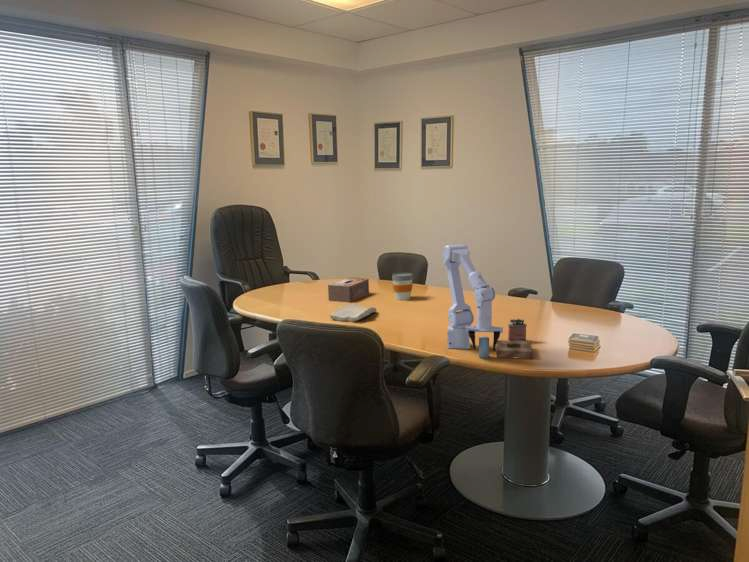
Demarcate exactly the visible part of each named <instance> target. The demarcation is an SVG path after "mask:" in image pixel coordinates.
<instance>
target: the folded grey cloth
mask: <svg viewBox="0 0 749 562" xmlns="http://www.w3.org/2000/svg"><path fill="white" fill-rule="evenodd" d="M373 313H377V308H376V307H375V306H370V307H366V306H363V305H359V304H358V303H353V304H345V305H342V306H340V307H337V308H336V309H335V310H334V311H333V312H332V313H331V314H330V315H329V318H330V319H332V320H334V321H337V322H351V323H355V322H358V321H359V320H360V321H361V319H363V318H365V317H367V316H369V315H371V314H373Z"/></svg>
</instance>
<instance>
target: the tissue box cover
mask: <svg viewBox="0 0 749 562" xmlns="http://www.w3.org/2000/svg"><path fill="white" fill-rule="evenodd" d="M369 281H370V280H369V278H361V277H346V278H343V279H341V280H338V281H335V282H333V283H330V284H328V286H327V288H328V289H327V292H328V294H327V295H328V301H329V302H337V303H348V304H349V303H351V302H354V301H356V300H358V299H360V298H362V297H363V298H364V297H365V296H367V295H369V294H370V283H369Z"/></svg>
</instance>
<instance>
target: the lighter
mask: <svg viewBox="0 0 749 562" xmlns="http://www.w3.org/2000/svg"><path fill="white" fill-rule="evenodd" d="M507 327H508V332H507V333H508V337H507V341H508V340H509V341H527V338H526V337H527V323H525V319H524V318H522V319H521V318H510V319H509V324H508V325H507Z"/></svg>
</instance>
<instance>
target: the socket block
mask: <svg viewBox="0 0 749 562" xmlns="http://www.w3.org/2000/svg"><path fill="white" fill-rule="evenodd" d="M495 350H496V353H497V354H496V358H497V357H519V358H518V359H521V358H534V356H533V355H534V354H533V353H534V351H533V347H532V343H531V341H529V340H528V341H527V340H526V341H508V339H507V340H503V339H498V340H497V343H496V346H495Z"/></svg>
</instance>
